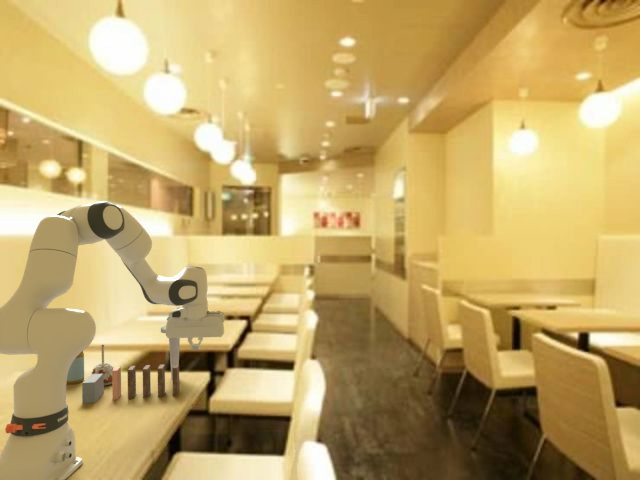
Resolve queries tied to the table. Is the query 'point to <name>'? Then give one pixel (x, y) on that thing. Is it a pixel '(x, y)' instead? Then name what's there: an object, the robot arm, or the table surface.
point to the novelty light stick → (173, 349)
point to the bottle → (76, 370)
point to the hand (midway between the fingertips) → (195, 349)
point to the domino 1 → (116, 382)
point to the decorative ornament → (104, 370)
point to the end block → (92, 388)
